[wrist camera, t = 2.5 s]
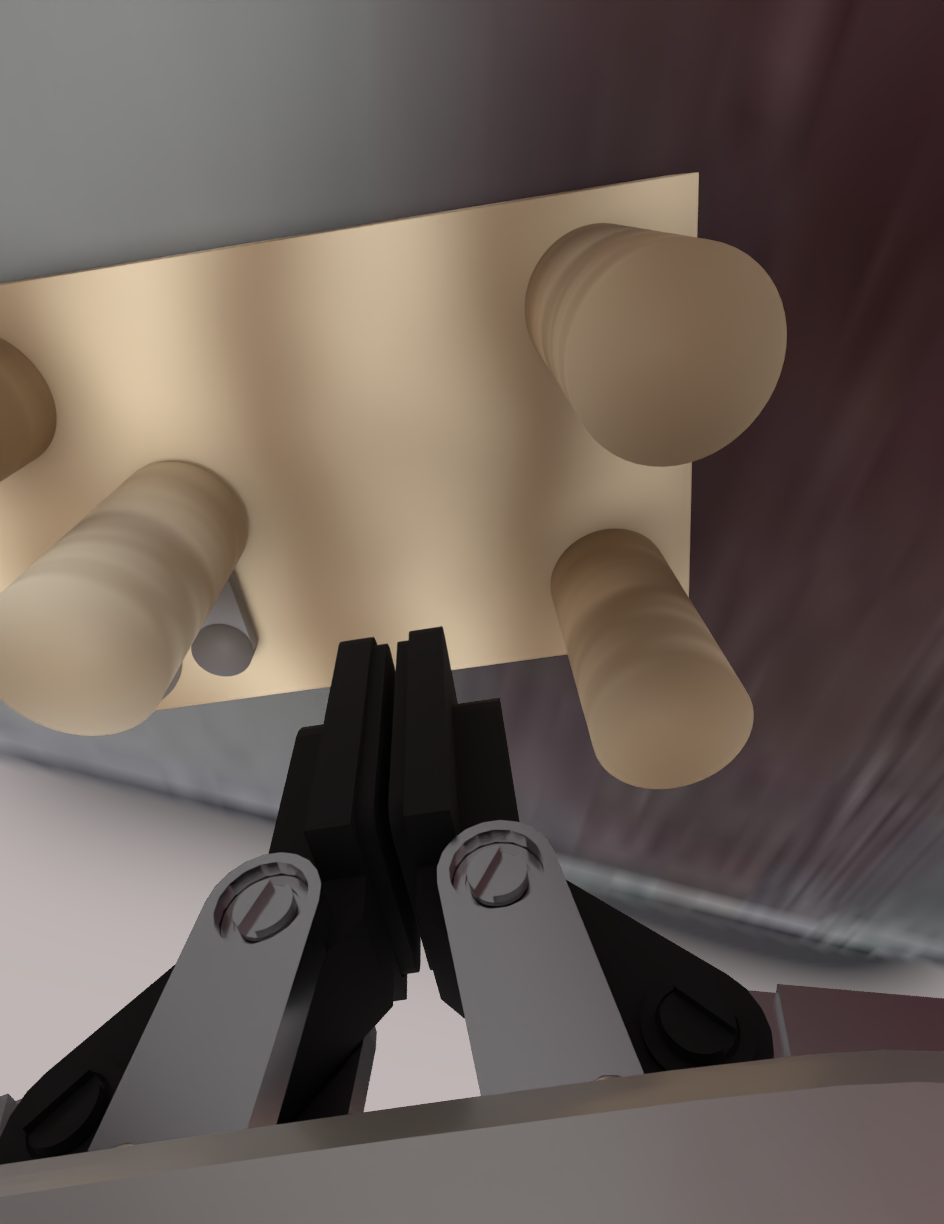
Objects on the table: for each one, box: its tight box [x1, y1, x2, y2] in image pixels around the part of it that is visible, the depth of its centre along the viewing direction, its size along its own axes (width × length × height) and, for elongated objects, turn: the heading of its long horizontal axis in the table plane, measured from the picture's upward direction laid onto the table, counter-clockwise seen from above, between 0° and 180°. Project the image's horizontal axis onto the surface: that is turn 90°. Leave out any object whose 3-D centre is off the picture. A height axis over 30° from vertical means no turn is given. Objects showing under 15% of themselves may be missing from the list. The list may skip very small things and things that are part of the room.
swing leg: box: [0, 462, 258, 736], centre depth 18 cm, size 7×4×7 cm, turn 8°
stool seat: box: [0, 172, 787, 789], centre depth 18 cm, size 21×13×10 cm, turn 98°
